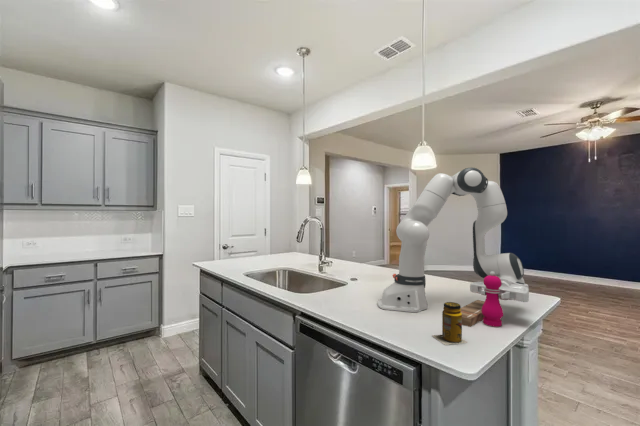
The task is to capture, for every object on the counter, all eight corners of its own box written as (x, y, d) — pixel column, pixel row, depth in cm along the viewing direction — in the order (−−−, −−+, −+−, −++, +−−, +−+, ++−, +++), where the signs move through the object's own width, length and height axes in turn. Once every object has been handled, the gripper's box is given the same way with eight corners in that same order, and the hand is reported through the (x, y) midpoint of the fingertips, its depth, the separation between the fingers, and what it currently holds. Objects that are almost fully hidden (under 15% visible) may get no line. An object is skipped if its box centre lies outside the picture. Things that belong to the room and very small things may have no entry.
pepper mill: (477, 320, 119) (477, 269, 119) (494, 320, 120) (495, 269, 120) (489, 327, 112) (489, 273, 112) (507, 327, 112) (508, 273, 112)
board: (470, 327, 113) (470, 318, 113) (449, 321, 118) (449, 313, 118) (496, 310, 131) (496, 303, 131) (477, 306, 137) (477, 299, 137)
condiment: (467, 342, 99) (467, 306, 99) (445, 345, 97) (445, 308, 97) (453, 334, 106) (453, 299, 106) (431, 336, 104) (431, 301, 104)
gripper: (477, 276, 132) (463, 281, 123) (533, 285, 117) (522, 291, 108) (477, 291, 132) (463, 297, 123) (533, 301, 117) (522, 309, 108)
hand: (491, 294), depth 115 cm, fingers closed on pepper mill, 5 cm apart
